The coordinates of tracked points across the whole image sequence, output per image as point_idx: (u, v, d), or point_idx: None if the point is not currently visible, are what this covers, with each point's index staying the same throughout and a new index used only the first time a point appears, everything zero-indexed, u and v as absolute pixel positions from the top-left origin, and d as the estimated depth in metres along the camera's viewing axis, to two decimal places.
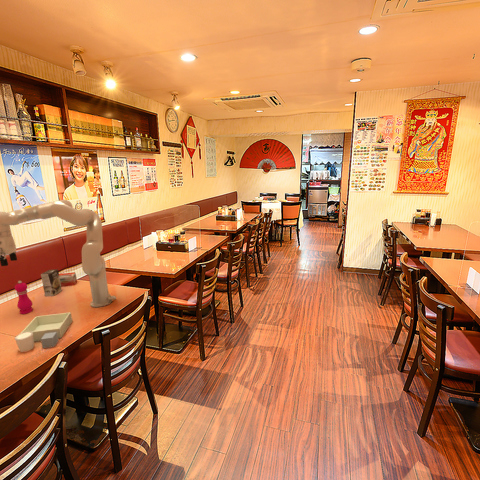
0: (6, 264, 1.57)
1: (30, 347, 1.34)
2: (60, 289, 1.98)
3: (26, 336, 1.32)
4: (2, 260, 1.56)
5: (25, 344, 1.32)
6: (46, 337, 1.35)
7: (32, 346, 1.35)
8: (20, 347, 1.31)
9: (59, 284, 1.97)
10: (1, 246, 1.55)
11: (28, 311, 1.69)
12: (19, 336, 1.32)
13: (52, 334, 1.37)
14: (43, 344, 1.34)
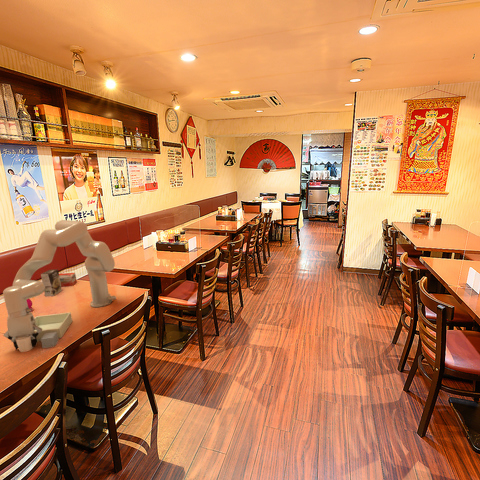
0: None
1: (30, 347, 1.34)
2: (60, 289, 1.98)
3: (26, 336, 1.32)
4: (35, 338, 1.35)
5: (25, 344, 1.32)
6: (46, 337, 1.35)
7: None
8: (20, 347, 1.31)
9: (59, 284, 1.97)
10: (33, 321, 1.33)
11: None
12: (19, 336, 1.32)
13: (52, 334, 1.37)
14: (43, 344, 1.34)
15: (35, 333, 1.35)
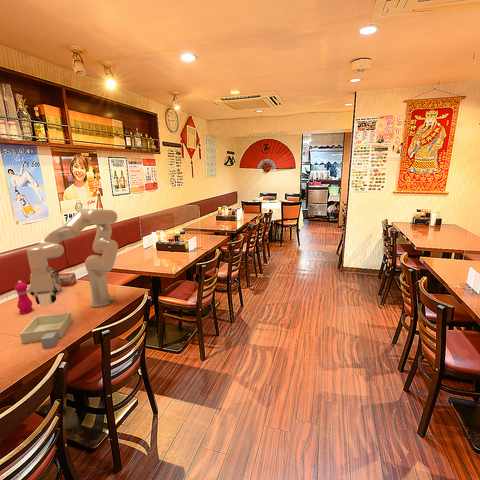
0: None
1: (50, 302, 1.47)
2: (60, 289, 1.98)
3: (46, 292, 1.46)
4: (55, 295, 1.49)
5: (46, 299, 1.45)
6: (46, 337, 1.35)
7: None
8: (41, 302, 1.45)
9: (59, 284, 1.97)
10: (53, 279, 1.47)
11: (28, 311, 1.69)
12: (40, 292, 1.46)
13: (52, 334, 1.37)
14: (43, 344, 1.34)
15: None
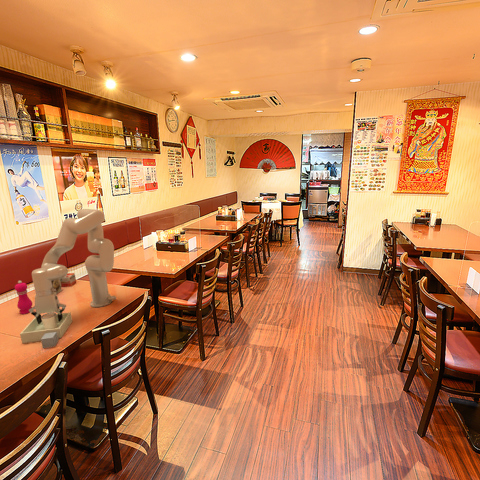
0: (61, 317, 1.53)
1: (54, 325, 1.51)
2: (60, 289, 1.98)
3: (50, 316, 1.49)
4: (61, 314, 1.52)
5: (50, 323, 1.49)
6: (46, 337, 1.35)
7: (55, 325, 1.52)
8: (45, 325, 1.49)
9: (59, 284, 1.97)
10: (57, 300, 1.50)
11: (28, 311, 1.69)
12: (44, 316, 1.50)
13: (52, 334, 1.37)
14: (43, 344, 1.34)
15: (61, 309, 1.52)
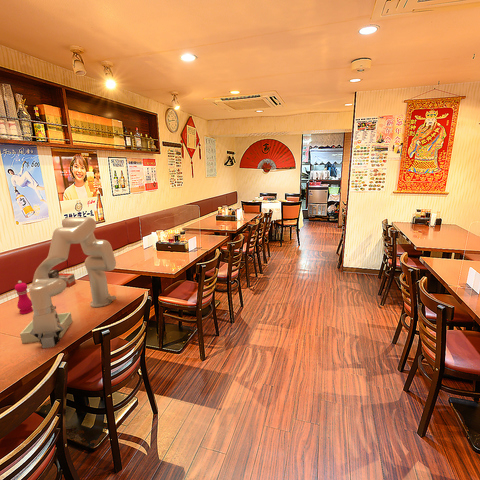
0: None
1: None
2: None
3: None
4: (58, 336, 1.37)
5: None
6: (46, 336, 1.35)
7: None
8: None
9: None
10: (58, 319, 1.36)
11: (28, 311, 1.69)
12: None
13: (52, 334, 1.37)
14: (43, 344, 1.34)
15: (57, 331, 1.38)
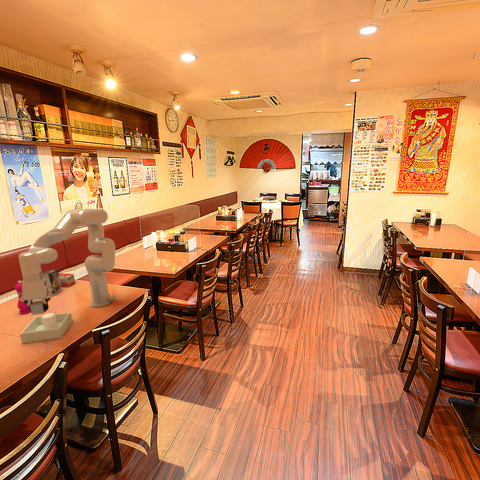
0: (47, 308, 1.42)
1: (54, 325, 1.51)
2: (60, 289, 1.98)
3: (50, 316, 1.49)
4: (47, 303, 1.41)
5: (50, 323, 1.49)
6: (35, 303, 1.38)
7: (55, 325, 1.52)
8: (45, 325, 1.49)
9: (59, 284, 1.97)
10: (47, 286, 1.39)
11: (28, 311, 1.69)
12: (44, 316, 1.50)
13: (41, 301, 1.40)
14: (32, 310, 1.38)
15: None
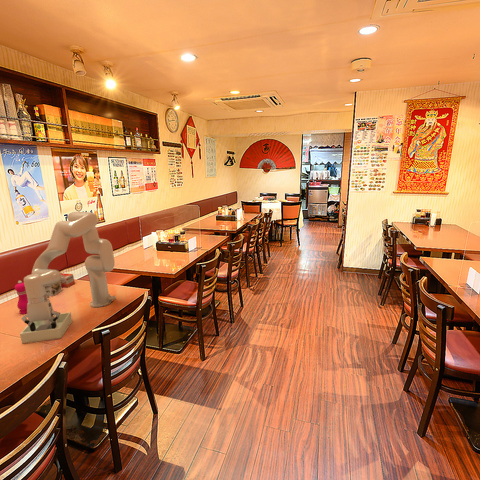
0: None
1: None
2: (60, 289, 1.98)
3: None
4: (55, 322, 1.44)
5: (50, 323, 1.49)
6: (40, 328, 1.42)
7: None
8: None
9: (59, 284, 1.97)
10: (51, 307, 1.42)
11: None
12: None
13: (46, 325, 1.44)
14: None
15: None
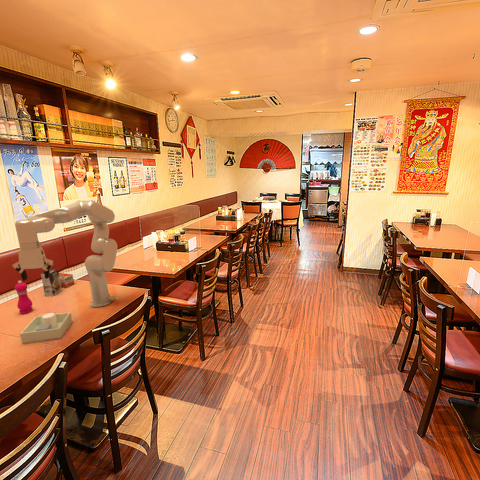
0: (48, 275, 1.42)
1: (54, 325, 1.51)
2: (60, 289, 1.98)
3: (50, 316, 1.49)
4: (48, 271, 1.40)
5: (50, 323, 1.49)
6: (40, 328, 1.42)
7: (55, 325, 1.52)
8: None
9: (59, 284, 1.97)
10: (44, 256, 1.39)
11: (28, 311, 1.69)
12: (44, 316, 1.50)
13: (46, 325, 1.44)
14: None
15: (48, 266, 1.41)
